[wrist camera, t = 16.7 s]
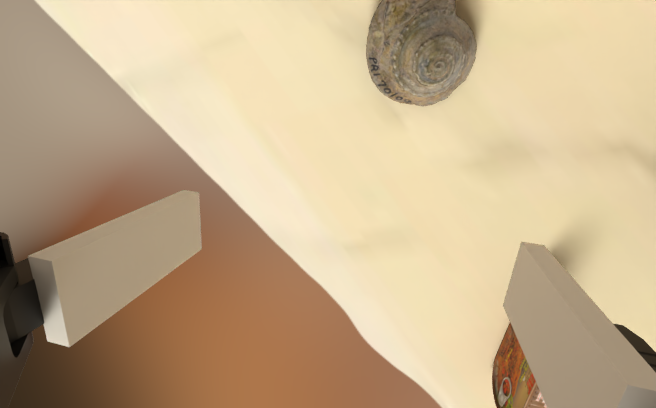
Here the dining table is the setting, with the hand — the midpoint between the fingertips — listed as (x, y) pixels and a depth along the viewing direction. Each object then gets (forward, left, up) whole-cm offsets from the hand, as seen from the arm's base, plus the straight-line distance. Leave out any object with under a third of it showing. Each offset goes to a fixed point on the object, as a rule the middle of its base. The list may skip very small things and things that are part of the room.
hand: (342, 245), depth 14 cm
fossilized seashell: (-2, -11, -27) cm, 29 cm away
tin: (-19, +21, -27) cm, 39 cm away
